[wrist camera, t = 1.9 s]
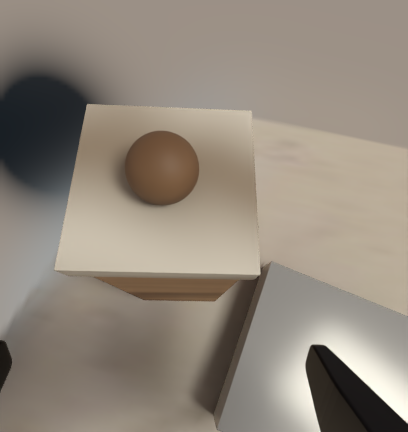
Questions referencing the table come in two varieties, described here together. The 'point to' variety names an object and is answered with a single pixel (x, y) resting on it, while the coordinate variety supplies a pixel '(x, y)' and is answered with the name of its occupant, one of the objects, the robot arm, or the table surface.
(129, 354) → the table surface
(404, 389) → the stone block
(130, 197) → the box
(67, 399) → the table surface
